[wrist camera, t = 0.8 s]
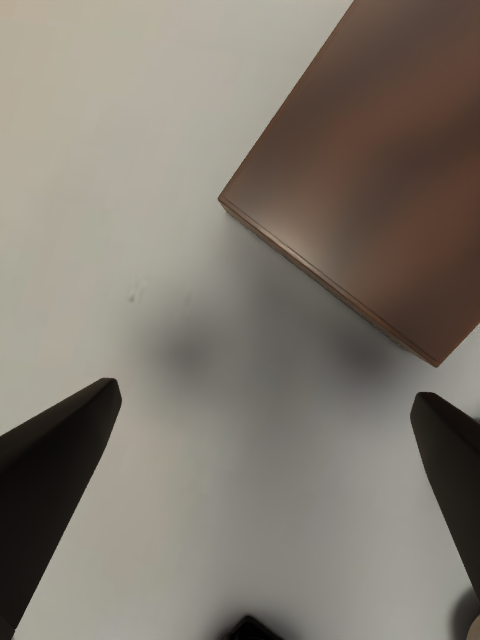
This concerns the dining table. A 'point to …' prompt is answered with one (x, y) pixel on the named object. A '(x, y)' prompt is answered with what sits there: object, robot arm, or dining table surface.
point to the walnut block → (381, 171)
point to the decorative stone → (474, 630)
